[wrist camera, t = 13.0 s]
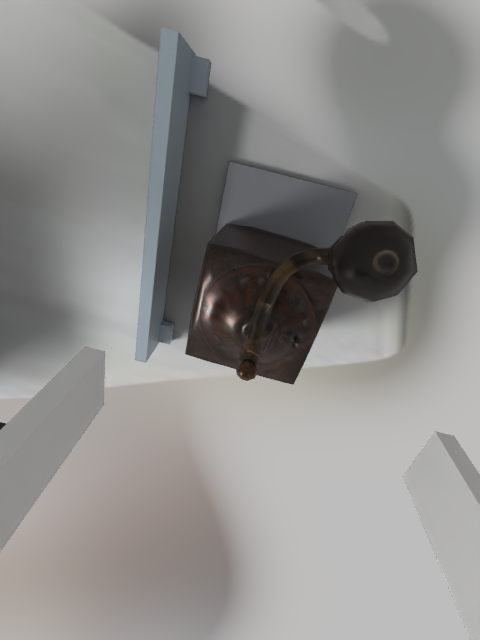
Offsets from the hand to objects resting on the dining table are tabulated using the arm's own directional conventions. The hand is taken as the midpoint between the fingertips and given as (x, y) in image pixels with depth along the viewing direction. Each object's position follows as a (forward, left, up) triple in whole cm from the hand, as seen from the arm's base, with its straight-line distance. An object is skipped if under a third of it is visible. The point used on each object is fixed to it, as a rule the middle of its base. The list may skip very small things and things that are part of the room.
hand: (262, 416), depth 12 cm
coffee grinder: (0, 0, -22) cm, 22 cm away
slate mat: (0, 0, -23) cm, 23 cm away
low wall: (-11, +1, -23) cm, 25 cm away
